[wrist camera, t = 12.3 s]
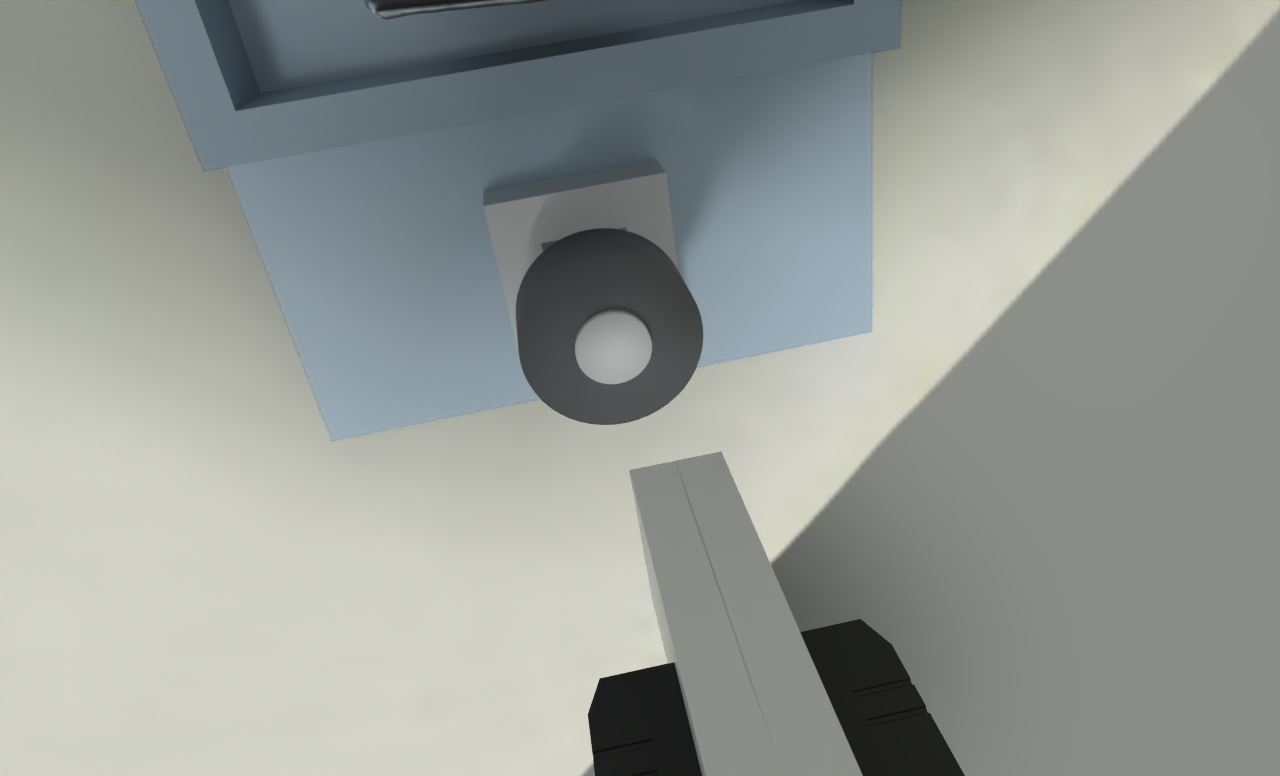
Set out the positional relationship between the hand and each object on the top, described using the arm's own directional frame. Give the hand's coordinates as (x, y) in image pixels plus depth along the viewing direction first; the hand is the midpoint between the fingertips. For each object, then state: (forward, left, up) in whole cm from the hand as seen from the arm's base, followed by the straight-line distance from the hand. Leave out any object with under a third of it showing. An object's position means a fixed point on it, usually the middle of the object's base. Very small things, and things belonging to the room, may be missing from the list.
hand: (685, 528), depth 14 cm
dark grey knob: (0, 0, -11) cm, 11 cm away
